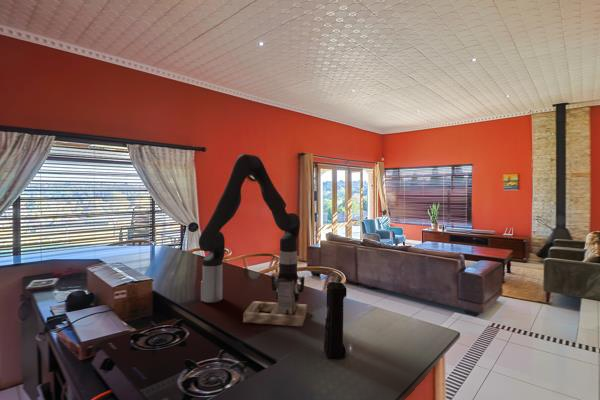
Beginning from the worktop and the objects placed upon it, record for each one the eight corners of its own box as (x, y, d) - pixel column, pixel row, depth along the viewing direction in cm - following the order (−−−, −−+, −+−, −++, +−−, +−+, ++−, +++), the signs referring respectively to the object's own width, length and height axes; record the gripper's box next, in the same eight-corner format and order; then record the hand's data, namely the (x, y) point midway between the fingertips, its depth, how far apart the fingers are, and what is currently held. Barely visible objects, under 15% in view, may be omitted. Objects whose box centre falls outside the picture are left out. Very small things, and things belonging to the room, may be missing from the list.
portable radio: (322, 347, 103) (323, 274, 102) (340, 346, 104) (341, 273, 103) (326, 360, 95) (327, 281, 95) (345, 359, 96) (346, 280, 95)
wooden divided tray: (243, 322, 123) (243, 313, 122) (253, 308, 136) (253, 301, 136) (302, 326, 119) (302, 317, 119) (306, 312, 133) (306, 304, 133)
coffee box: (282, 310, 132) (283, 274, 132) (297, 311, 131) (297, 274, 131) (277, 319, 123) (277, 280, 123) (292, 320, 122) (293, 281, 122)
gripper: (269, 262, 124) (268, 303, 124) (304, 264, 122) (303, 305, 122) (273, 258, 131) (273, 296, 132) (306, 260, 129) (306, 299, 130)
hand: (287, 300), depth 127 cm, fingers open, 6 cm apart
